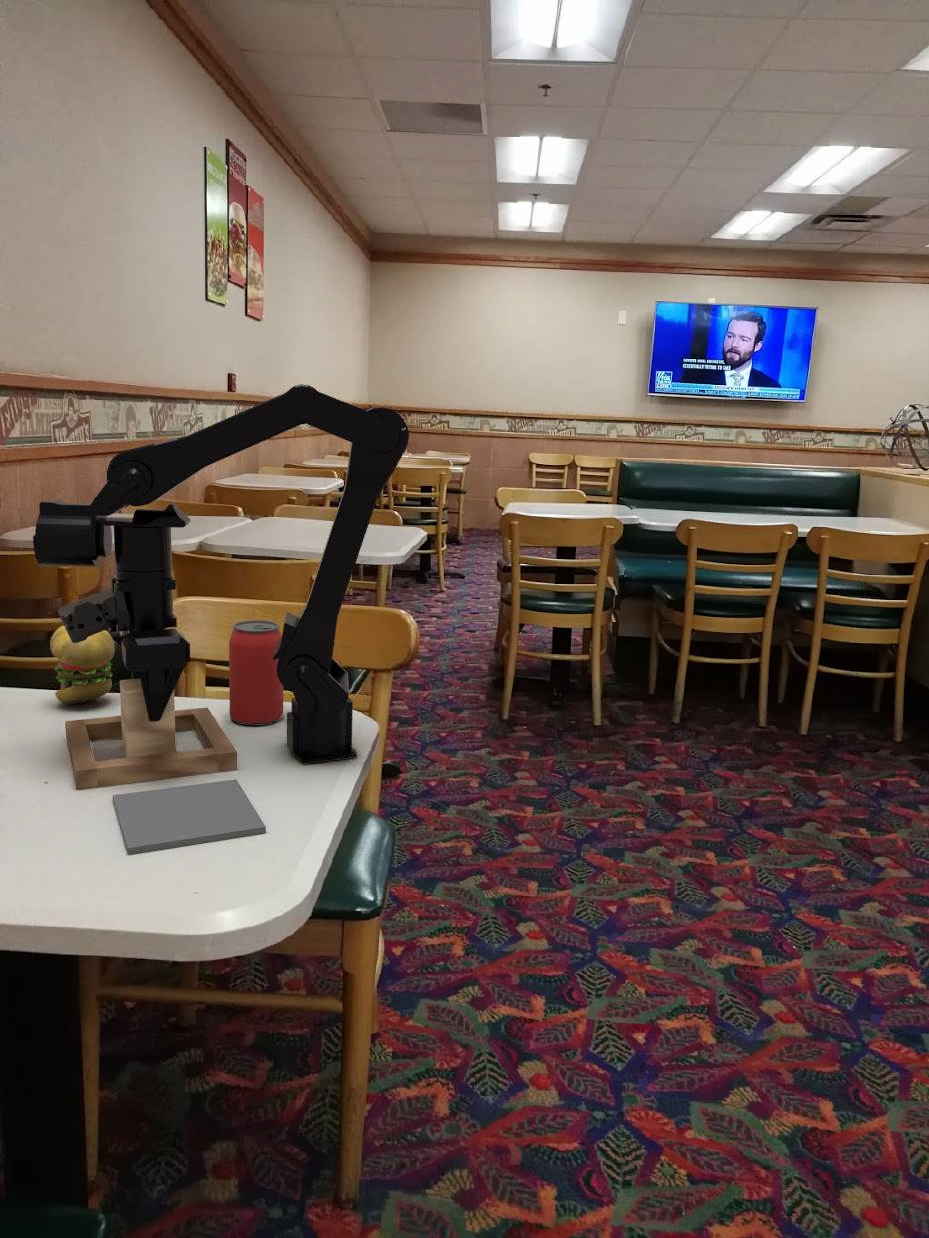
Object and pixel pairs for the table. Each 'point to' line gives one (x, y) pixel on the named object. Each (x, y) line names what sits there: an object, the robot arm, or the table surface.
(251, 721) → the beer can
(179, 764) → the wooden frame
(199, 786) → the rubber mat
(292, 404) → the robot arm
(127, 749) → the maple block
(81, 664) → the hamburger
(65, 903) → the table surface
